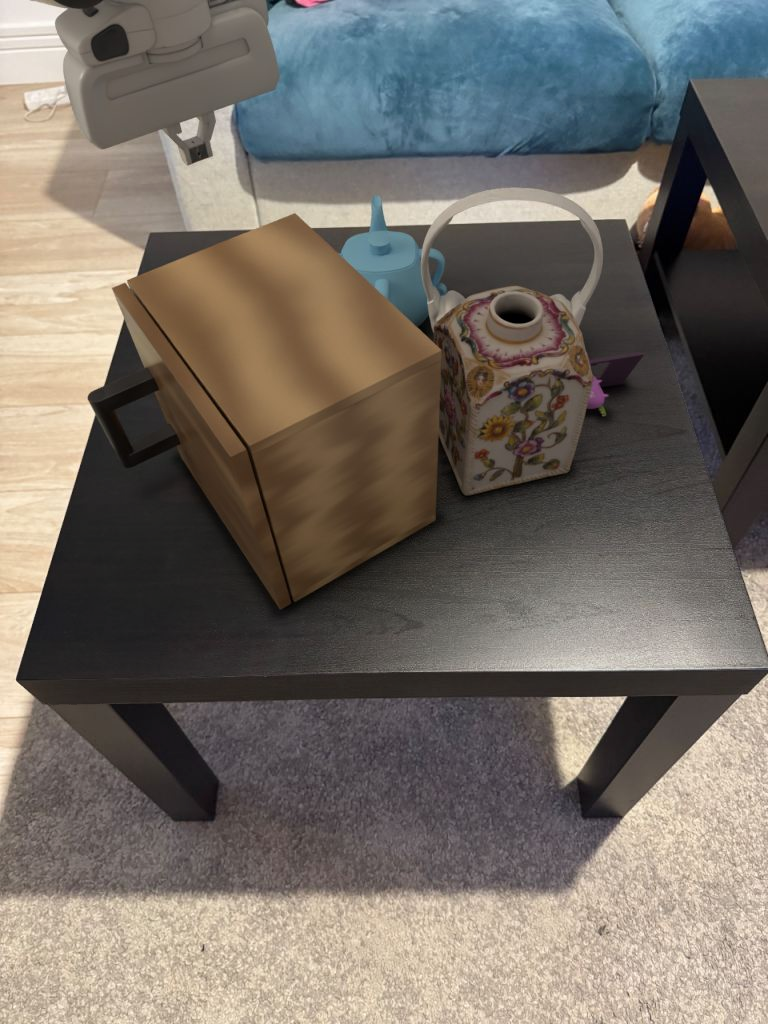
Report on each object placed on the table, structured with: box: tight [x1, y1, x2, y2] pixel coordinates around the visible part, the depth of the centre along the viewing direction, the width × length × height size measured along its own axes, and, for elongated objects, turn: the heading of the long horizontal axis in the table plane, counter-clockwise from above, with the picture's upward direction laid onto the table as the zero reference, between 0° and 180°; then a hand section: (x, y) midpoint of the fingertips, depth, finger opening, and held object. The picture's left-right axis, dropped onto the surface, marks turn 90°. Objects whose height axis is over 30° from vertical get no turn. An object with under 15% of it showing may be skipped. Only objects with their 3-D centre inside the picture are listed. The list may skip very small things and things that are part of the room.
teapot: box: [337, 194, 448, 328], centre depth 86 cm, size 13×14×11 cm
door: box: [87, 282, 292, 610], centre depth 62 cm, size 7×22×22 cm, turn 33°
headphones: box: [421, 187, 604, 334], centre depth 77 cm, size 7×18×20 cm, turn 84°
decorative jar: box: [432, 285, 594, 496], centre depth 70 cm, size 12×12×18 cm
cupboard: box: [126, 212, 442, 603], centre depth 66 cm, size 16×22×22 cm
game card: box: [586, 351, 645, 417], centre depth 78 cm, size 7×5×9 cm
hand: (197, 158), depth 76 cm, fingers closed
